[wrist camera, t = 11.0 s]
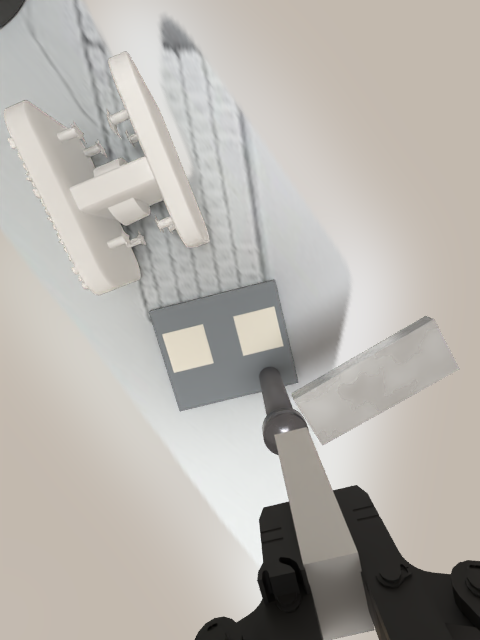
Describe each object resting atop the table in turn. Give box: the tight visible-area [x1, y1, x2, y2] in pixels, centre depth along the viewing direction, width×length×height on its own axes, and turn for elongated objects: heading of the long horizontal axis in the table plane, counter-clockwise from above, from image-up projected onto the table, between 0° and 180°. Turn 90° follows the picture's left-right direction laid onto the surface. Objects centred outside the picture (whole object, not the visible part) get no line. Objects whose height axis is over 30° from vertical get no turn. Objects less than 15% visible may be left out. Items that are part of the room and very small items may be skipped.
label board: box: [149, 280, 298, 415], centre depth 34 cm, size 12×14×12 cm
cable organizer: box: [4, 51, 209, 295], centre depth 31 cm, size 15×11×12 cm
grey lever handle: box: [262, 316, 459, 455], centre depth 28 cm, size 16×5×1 cm, turn 122°
